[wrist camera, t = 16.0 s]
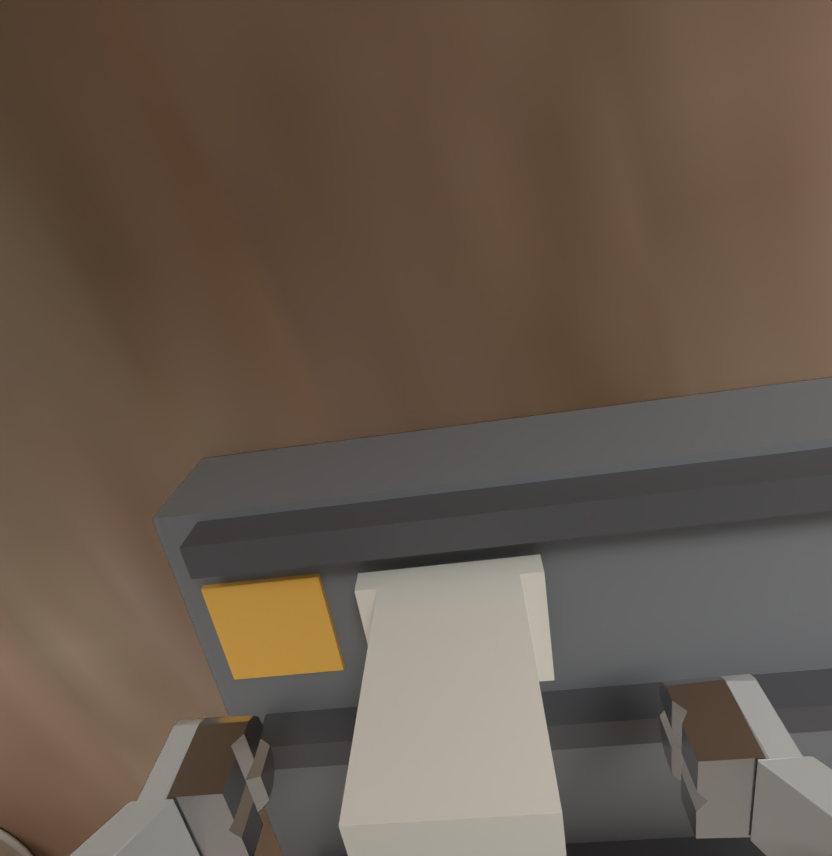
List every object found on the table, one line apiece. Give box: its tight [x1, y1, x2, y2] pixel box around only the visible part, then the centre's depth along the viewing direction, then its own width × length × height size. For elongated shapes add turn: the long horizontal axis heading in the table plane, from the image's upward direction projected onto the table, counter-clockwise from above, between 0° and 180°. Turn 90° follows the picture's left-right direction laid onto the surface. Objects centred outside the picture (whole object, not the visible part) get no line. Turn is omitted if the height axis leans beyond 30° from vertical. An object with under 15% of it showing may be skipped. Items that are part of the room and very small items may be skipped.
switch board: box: [152, 377, 832, 856], centre depth 15 cm, size 13×28×4 cm, turn 99°
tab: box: [339, 554, 567, 856], centre depth 11 cm, size 3×4×6 cm
